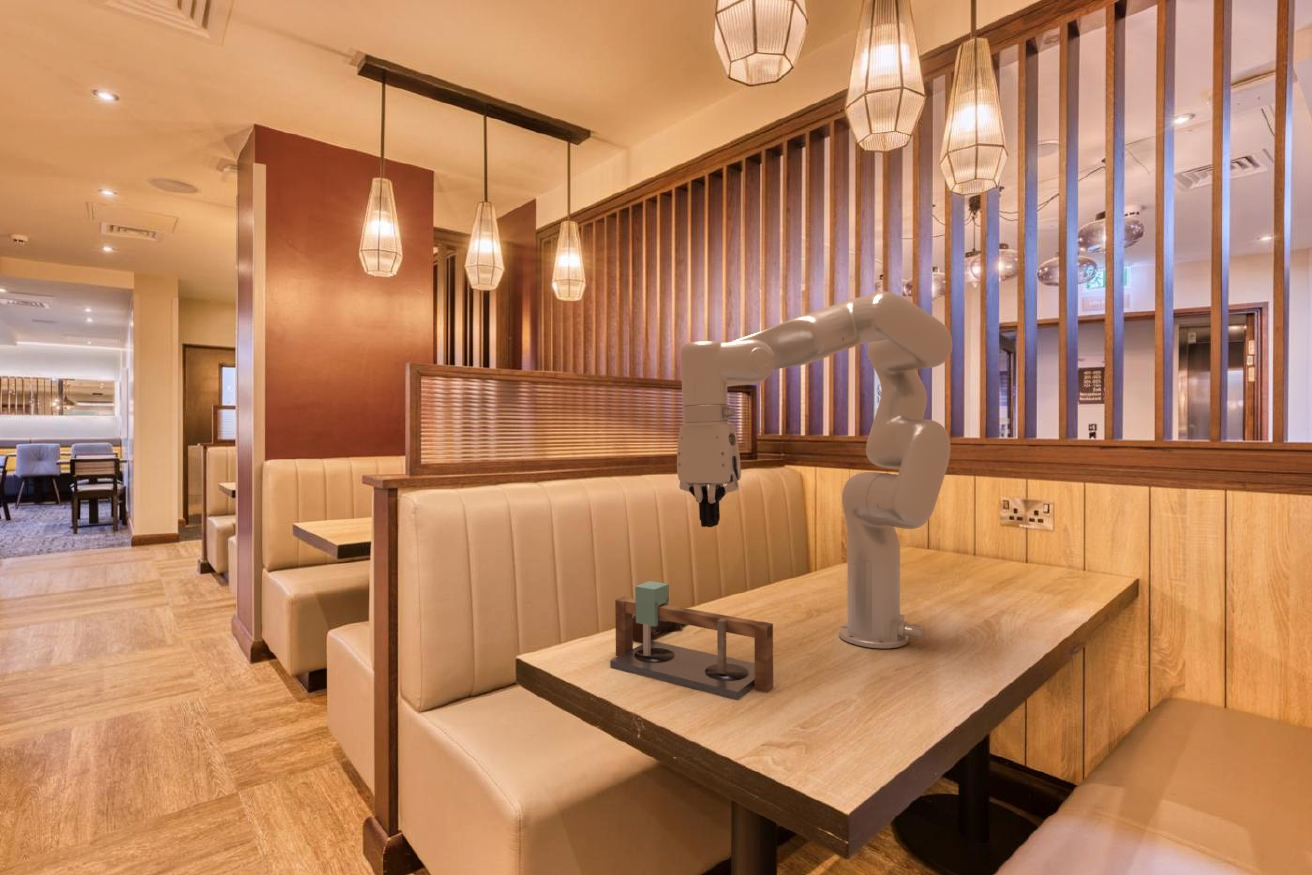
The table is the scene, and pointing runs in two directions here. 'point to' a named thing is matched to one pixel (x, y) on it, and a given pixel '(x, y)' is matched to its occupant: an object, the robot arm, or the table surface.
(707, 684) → the hole plate
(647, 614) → the slider block
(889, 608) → the robot arm
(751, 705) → the table surface
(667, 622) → the bolt
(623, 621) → the beam
